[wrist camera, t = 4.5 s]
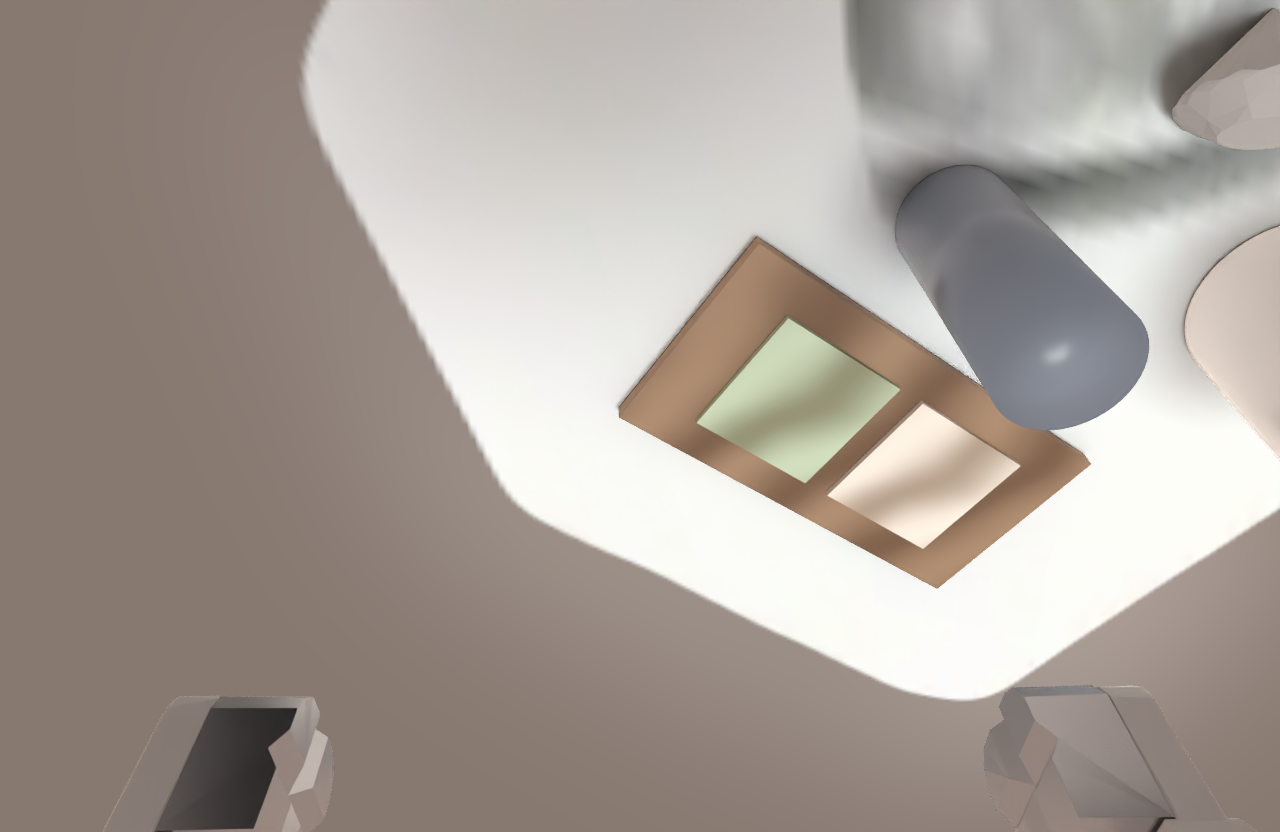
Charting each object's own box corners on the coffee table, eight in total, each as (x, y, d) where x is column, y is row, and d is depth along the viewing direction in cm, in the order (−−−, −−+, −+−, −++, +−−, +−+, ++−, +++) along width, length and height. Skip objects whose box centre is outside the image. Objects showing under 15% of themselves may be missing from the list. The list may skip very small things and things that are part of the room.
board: (618, 407, 43) (618, 420, 42) (756, 236, 38) (760, 246, 37) (933, 578, 51) (938, 592, 50) (1084, 454, 45) (1093, 467, 45)
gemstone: (1426, -36, 30) (1418, 105, 29) (1303, 53, 36) (1295, 170, 36) (1238, -48, 30) (1227, 90, 30) (1148, 42, 36) (1139, 157, 36)
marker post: (1024, 165, 36) (1172, 298, 27) (995, 273, 39) (1119, 429, 30) (906, 165, 36) (1010, 299, 27) (886, 273, 39) (973, 431, 29)
